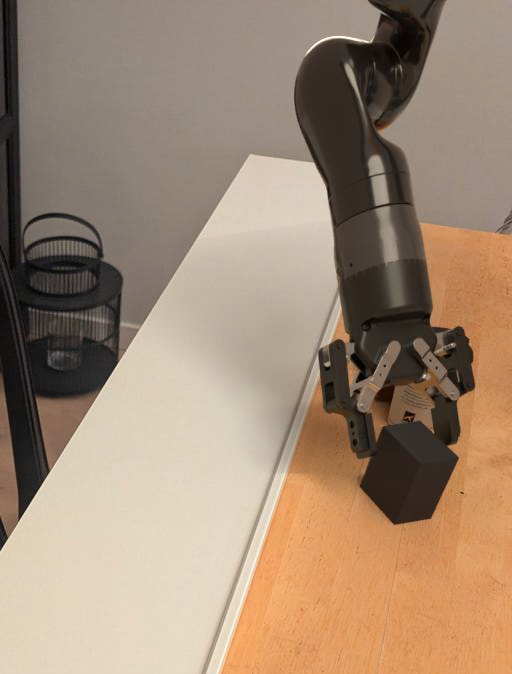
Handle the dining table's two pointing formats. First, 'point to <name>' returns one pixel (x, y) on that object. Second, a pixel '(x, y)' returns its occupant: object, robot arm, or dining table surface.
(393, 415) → the coffee cup
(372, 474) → the black rectangular block
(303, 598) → the dining table surface
